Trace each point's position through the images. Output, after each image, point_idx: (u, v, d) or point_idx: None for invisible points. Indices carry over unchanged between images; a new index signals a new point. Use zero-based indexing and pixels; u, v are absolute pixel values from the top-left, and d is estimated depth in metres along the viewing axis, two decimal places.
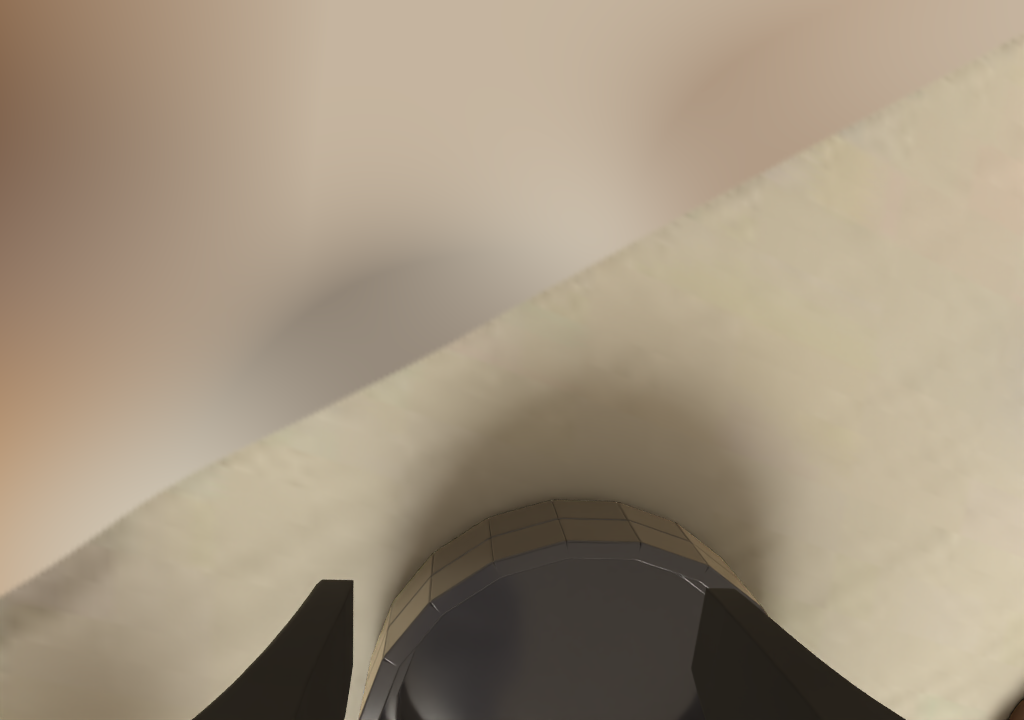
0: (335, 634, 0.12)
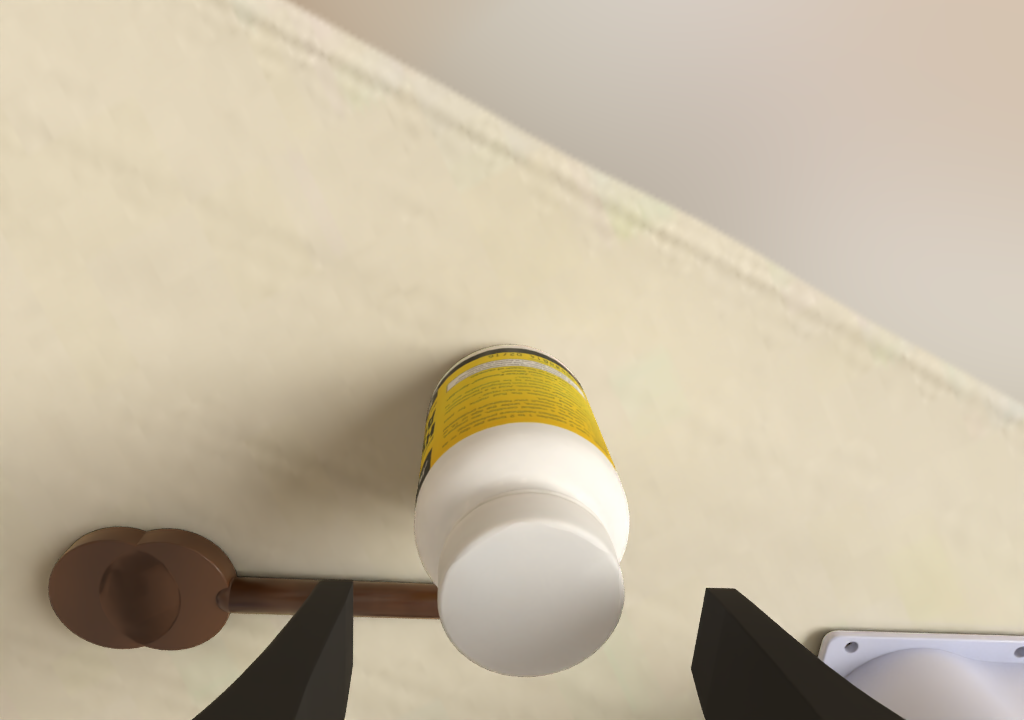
0: (335, 634, 0.12)
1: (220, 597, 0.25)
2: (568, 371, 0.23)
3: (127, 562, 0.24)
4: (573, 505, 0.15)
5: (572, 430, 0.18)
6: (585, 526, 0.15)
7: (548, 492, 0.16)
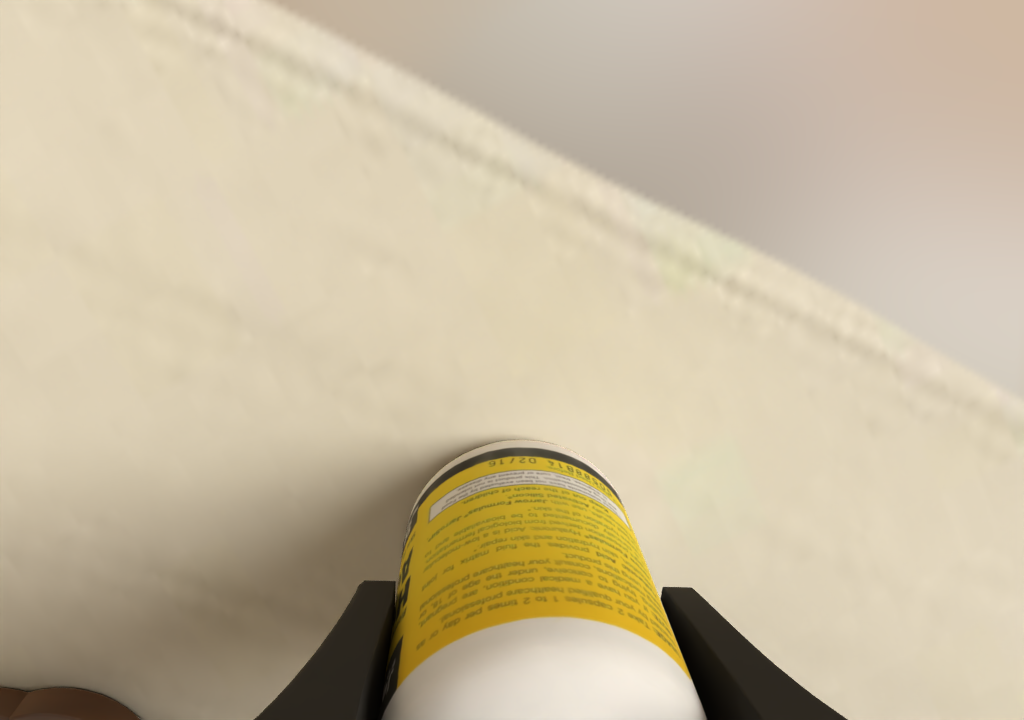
0: (383, 635, 0.12)
1: None
2: (601, 478, 0.16)
3: None
4: None
5: (622, 626, 0.11)
6: None
7: None
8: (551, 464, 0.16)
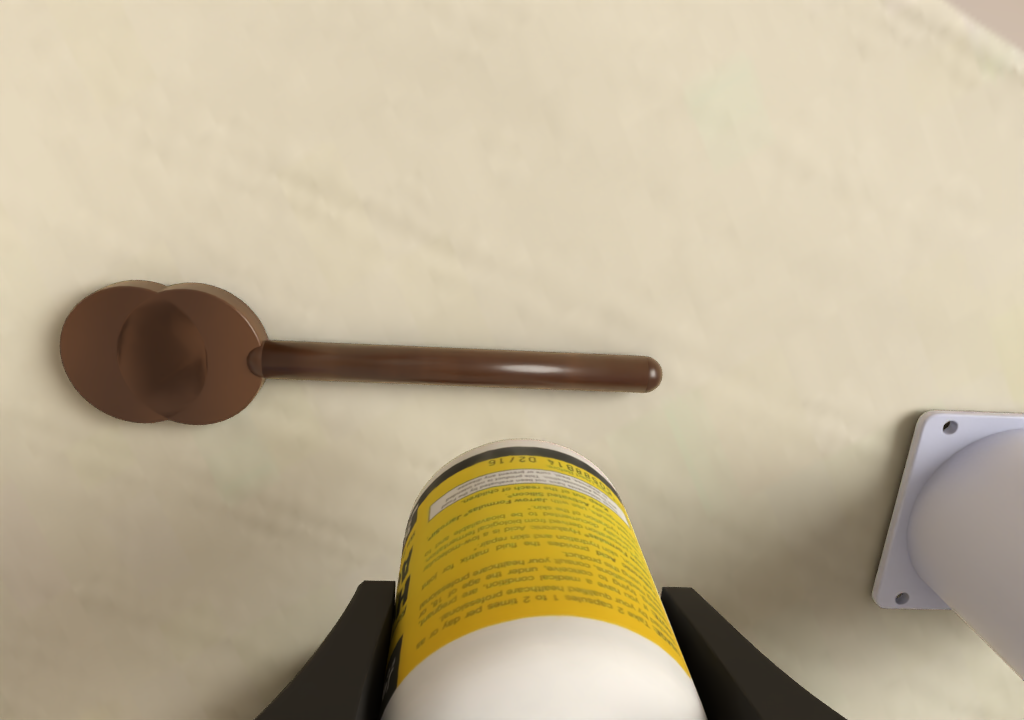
0: (383, 635, 0.12)
1: (252, 356, 0.22)
2: (601, 477, 0.16)
3: (147, 313, 0.21)
4: None
5: (622, 624, 0.11)
6: None
7: None
8: (551, 463, 0.16)
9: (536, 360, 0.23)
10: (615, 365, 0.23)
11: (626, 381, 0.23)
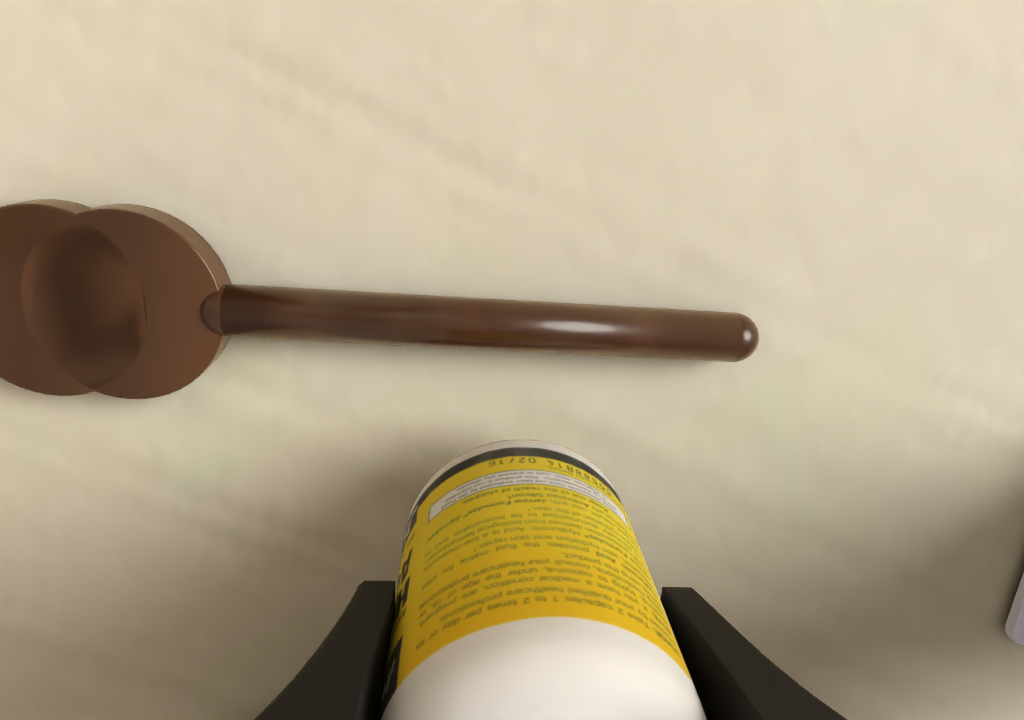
0: (383, 635, 0.12)
1: (207, 304, 0.16)
2: (601, 478, 0.16)
3: (61, 243, 0.16)
4: None
5: (621, 625, 0.11)
6: None
7: None
8: (551, 464, 0.16)
9: (593, 316, 0.17)
10: (698, 323, 0.17)
11: (713, 345, 0.17)
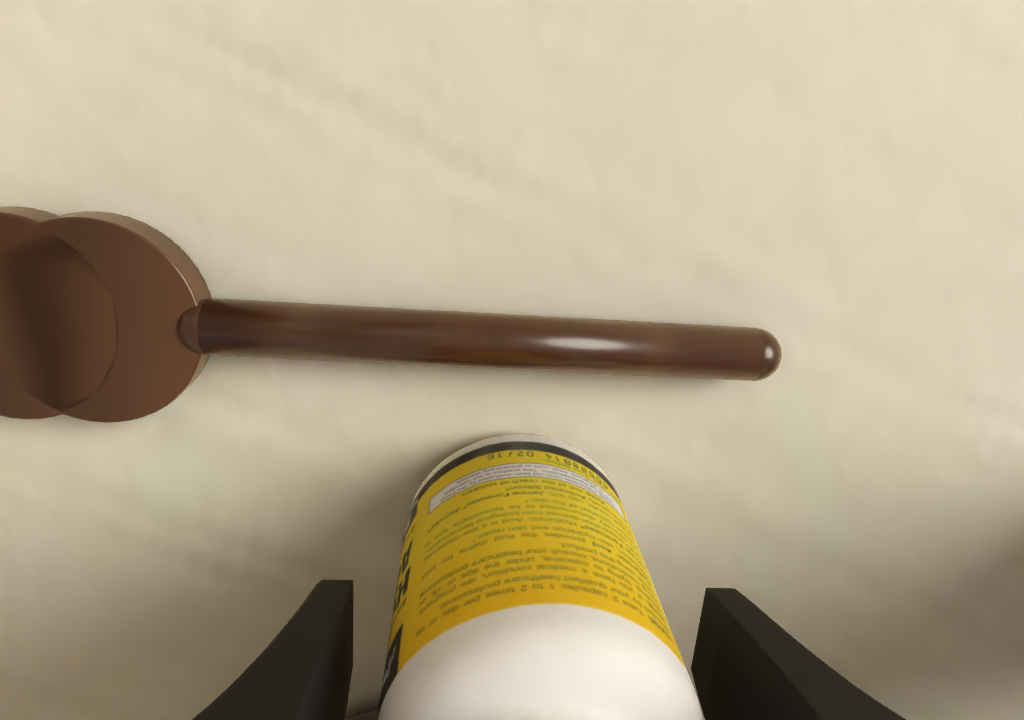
0: (335, 634, 0.12)
1: (184, 320, 0.15)
2: (597, 471, 0.17)
3: (24, 254, 0.14)
4: None
5: (616, 612, 0.11)
6: None
7: None
8: (548, 457, 0.16)
9: (603, 332, 0.16)
10: (716, 340, 0.16)
11: (732, 363, 0.16)
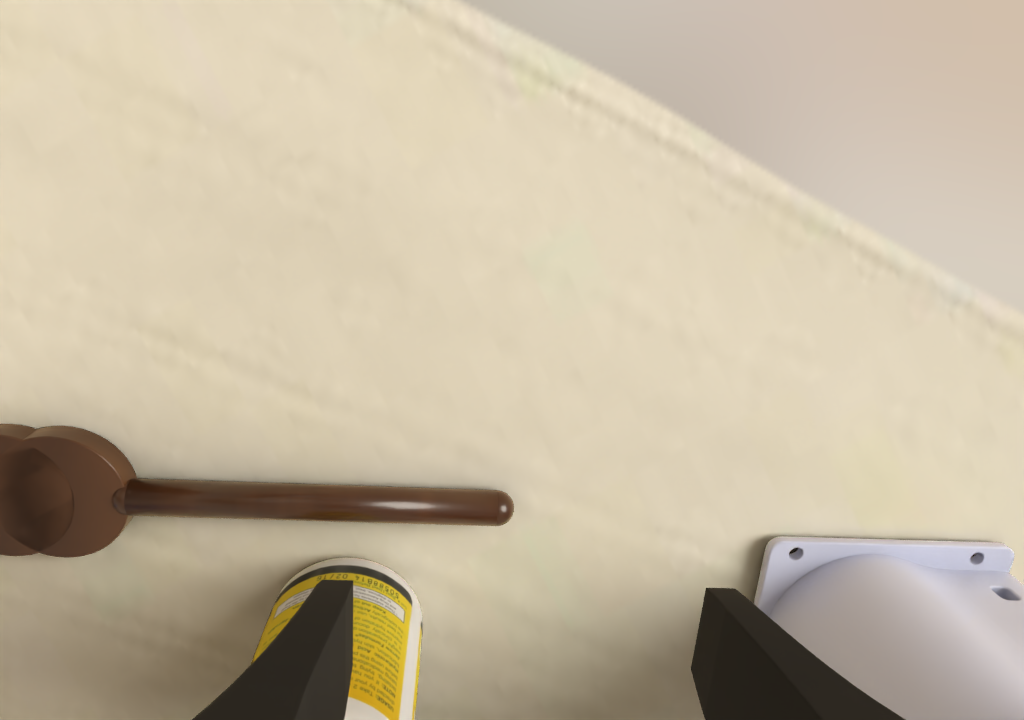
0: (335, 634, 0.12)
1: (116, 496, 0.23)
2: (395, 584, 0.25)
3: (13, 459, 0.23)
4: None
5: (351, 695, 0.20)
6: None
7: None
8: (357, 579, 0.24)
9: (389, 499, 0.24)
10: (465, 502, 0.24)
11: (476, 517, 0.24)
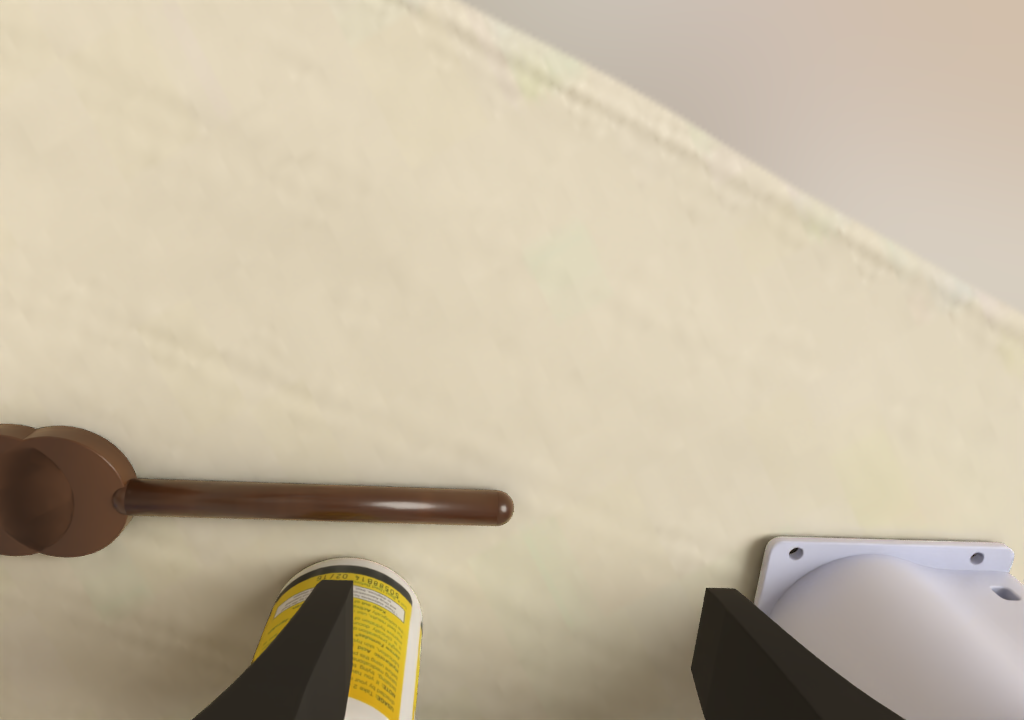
0: (335, 634, 0.12)
1: (116, 496, 0.23)
2: (395, 584, 0.25)
3: (13, 459, 0.23)
4: None
5: (351, 695, 0.20)
6: None
7: None
8: (357, 578, 0.24)
9: (389, 499, 0.24)
10: (465, 502, 0.24)
11: (476, 517, 0.24)
